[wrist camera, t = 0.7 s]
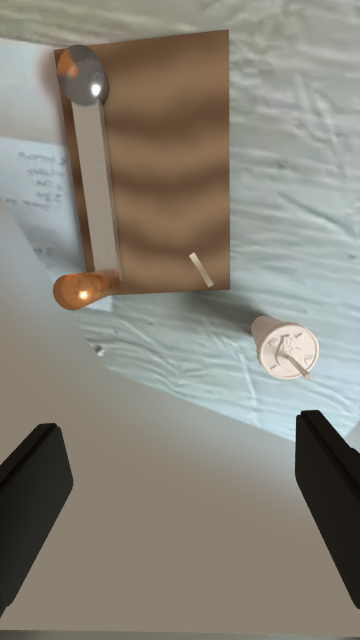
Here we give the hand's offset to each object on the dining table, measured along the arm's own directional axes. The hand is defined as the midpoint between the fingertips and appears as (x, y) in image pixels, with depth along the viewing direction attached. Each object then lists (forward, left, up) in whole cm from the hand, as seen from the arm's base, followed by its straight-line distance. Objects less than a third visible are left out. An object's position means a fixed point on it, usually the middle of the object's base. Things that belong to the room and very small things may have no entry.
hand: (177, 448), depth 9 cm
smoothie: (+3, +11, -27) cm, 29 cm away
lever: (-16, -10, -25) cm, 31 cm away
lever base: (-17, -4, -27) cm, 32 cm away
